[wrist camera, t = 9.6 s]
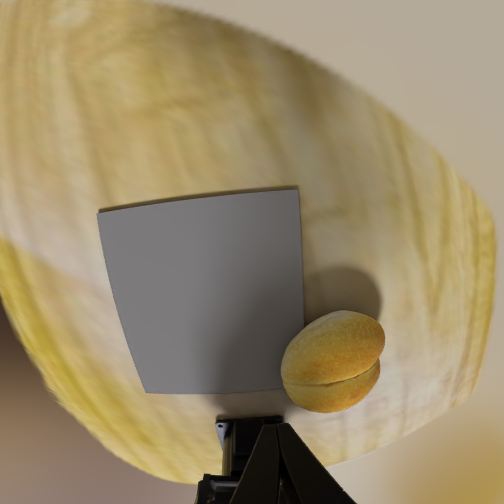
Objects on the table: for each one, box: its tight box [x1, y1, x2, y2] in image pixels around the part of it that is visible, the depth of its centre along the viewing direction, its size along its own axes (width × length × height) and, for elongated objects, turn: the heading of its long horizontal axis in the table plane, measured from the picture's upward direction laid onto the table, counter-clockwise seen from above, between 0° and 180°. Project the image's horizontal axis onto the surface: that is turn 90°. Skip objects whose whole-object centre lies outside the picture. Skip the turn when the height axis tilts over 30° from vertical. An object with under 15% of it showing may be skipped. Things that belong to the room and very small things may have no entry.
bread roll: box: [281, 310, 385, 413], centre depth 19 cm, size 8×9×4 cm
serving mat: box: [97, 189, 304, 394], centre depth 20 cm, size 16×14×1 cm
